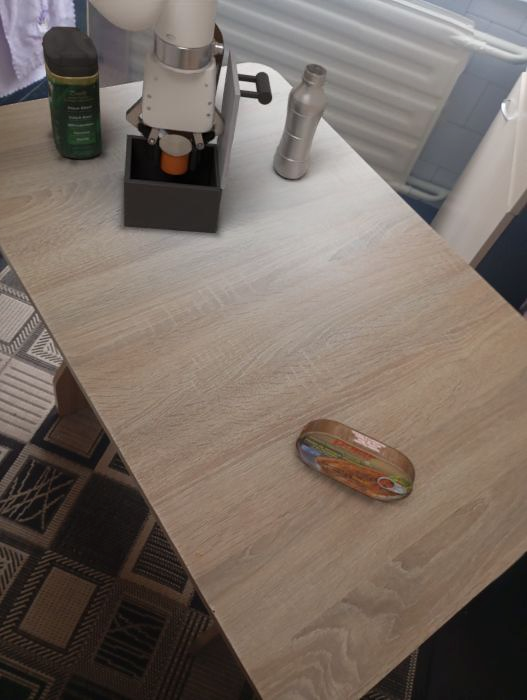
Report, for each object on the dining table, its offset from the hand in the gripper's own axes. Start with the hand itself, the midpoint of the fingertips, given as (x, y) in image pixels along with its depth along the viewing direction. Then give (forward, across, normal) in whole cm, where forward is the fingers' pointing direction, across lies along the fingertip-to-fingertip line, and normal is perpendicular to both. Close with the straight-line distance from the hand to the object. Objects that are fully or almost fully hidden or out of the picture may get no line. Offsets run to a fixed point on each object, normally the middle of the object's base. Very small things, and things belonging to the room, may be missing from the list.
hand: (174, 162), depth 88 cm
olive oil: (+9, -3, -23) cm, 25 cm away
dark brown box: (+9, 0, 0) cm, 9 cm away
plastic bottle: (+9, -22, -12) cm, 27 cm away
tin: (+9, -22, +48) cm, 54 cm away
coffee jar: (+9, +16, -14) cm, 23 cm away
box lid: (-8, -7, 0) cm, 11 cm away
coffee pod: (+1, 0, 0) cm, 1 cm away
